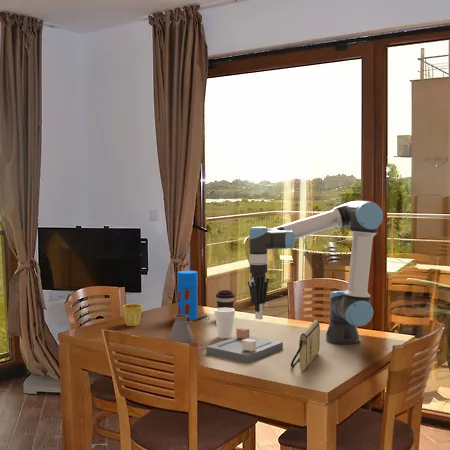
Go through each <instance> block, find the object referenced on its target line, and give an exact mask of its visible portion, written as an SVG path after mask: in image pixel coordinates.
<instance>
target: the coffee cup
mask: <svg viewBox="0 0 450 450" xmlns="http://www.w3.org/2000/svg"><path fill="white" fill-rule="evenodd" d="M235 295H236V294H235V293H234V292H233V291H232V290H227V289H223V290H219V291H218V293H216V294H215V297H216V299H217V300H216V305H217V308H233V309H234V302H235V301H234V298H235V297H236V296H235ZM217 308H216V309H217Z"/></svg>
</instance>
